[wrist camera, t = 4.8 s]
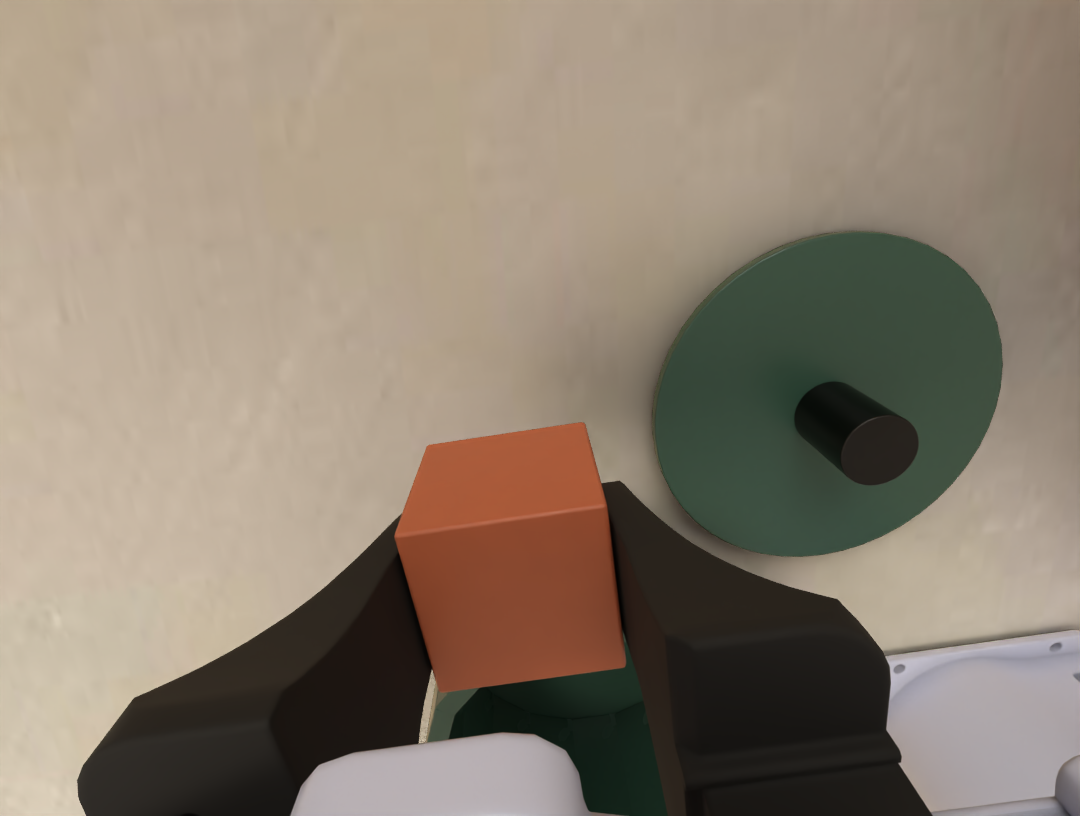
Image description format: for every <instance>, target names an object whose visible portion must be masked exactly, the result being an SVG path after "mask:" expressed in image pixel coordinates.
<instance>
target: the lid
mask: <svg viewBox="0 0 1080 816" xmlns="http://www.w3.org/2000/svg"><path fill="white" fill-rule="evenodd" d="M1002 367H1003V362H1002V344H1001V339H1000V335H999V330H998V325H997V322H996V320H995V317H994V314H993V312H992V309H991V307H990V304H989V303H988V301H987V299H986V298H985V296H984V294H983V293H982V291H981V289H980V288H979V286H978V285H977V284H976V283H975V282H974V280H973V279H972V278H971V277H970V276H969V275H968V273H967V272H966V271H965V270H964V269H963V268H961V267H960V266H959V265H958V264H956V263H955V262H954V261H953V260H952V259H950V258H949V257H948V256H946V255H944V254H943V253H941V252H939V251H937V250H936V249H934V248H932V247H930V246H928V245H926V244H923V243H920V242H917V241H915V240H912V239H909V238H906V237H901V236H896V235H891V234H886V233H880V232H864V231H846V232H834V233H826V234H821V235H817V236H812V237H808V238H804V239H800V240H798V241H795V242H792V243H789V244H786V245H784V246H781V247H778V248H776V249H774V250H772V251H770V252H768V253H766V254H764V255H762V256H760V257H758V258H756V259H754V260H753V261H751V262H750V263H748V264H747V265H745V266H744V267H742V268H741V269H739V270H738V271H736V272H735V273H733V274H732V275H731V276H730V277H728V278H727V279H726V280H725V281H724V282H723V283H721V284H720V285H719V286H718V287H717V288H715V289H714V290H713V291H712V292H711V293H710V294H709V295H708V296H707V298H706V299H705V300H704V301H703V302H702V303H701V304H700V305H699V306H698V307H697V308H696V309H695V311H694V312H693V313H692V315H691V316H690V318H689V319H688V320H687V322H686V323H685V324H684V326H683V327H682V328H681V330H680V332H679V334H678V335H677V337H676V339H675V341H674V342H673V344H672V346H671V348H670V350H669V352H668V354H667V357H666V359H665V362H664V364H663V367H662V369H661V372H660V375H659V379H658V383H657V387H656V390H655V396H654V404H653V412H652V432H653V440H654V446H655V452H656V456H657V459H658V462H659V465H660V469H661V472H662V474H663V476H664V478H665V480H666V482H667V484H668V486H669V488H670V490H671V492H672V494H673V495H674V496H675V498H676V499H677V501H678V502H679V504H680V505H681V506H682V508H683V509H684V510H685V511H686V512H687V513H688V514H689V515H690V516H691V517H692V518H693V519H694V520H695V521H696V522H697V523H698V524H699V525H701V526H702V527H703V528H705V529H706V530H707V531H708V532H710V533H712V534H713V535H715V536H717V537H719V538H720V539H722V540H724V541H726V542H728V543H730V544H733V545H735V546H738V547H740V548H743V549H746V550H750V551H754V552H757V553H761V554H768V555H775V556H792V557H803V556H814V555H823V554H828V553H833V552H838V551H843V550H846V549H849V548H852V547H856V546H859V545H862V544H865V543H867V542H869V541H872V540H874V539H876V538H879V537H881V536H883V535H885V534H887V533H889V532H891V531H893V530H894V529H896V528H898V527H900V526H902V525H903V524H905V523H906V522H908V521H909V520H911V519H912V518H914V517H915V516H917V515H918V514H920V513H921V512H922V511H923V510H924V509H926V508H927V507H928V506H929V505H930V504H932V503H933V502H934V501H935V500H937V499H938V498H939V497H940V496H941V495H942V494H943V493H944V492H945V491H946V490H947V489H948V488H949V487H950V486H951V485H952V484H953V482H954V481H955V480H956V479H957V477H958V476H959V475H960V474H961V472H962V471H963V470H964V469H965V468H966V466H967V465H968V463H969V462H970V460H971V459H972V457H973V456H974V454H975V452H976V451H977V449H978V448H979V446H980V444H981V442H982V440H983V438H984V436H985V434H986V432H987V430H988V428H989V425H990V423H991V420H992V417H993V414H994V412H995V409H996V405H997V401H998V396H999V392H1000V388H1001V378H1002Z"/></svg>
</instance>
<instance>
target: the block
mask: <svg viewBox="0 0 1080 816" xmlns="http://www.w3.org/2000/svg"><path fill="white" fill-rule="evenodd" d="M394 537H395V541H396V544H397V548H398V551H399V555H400V558H401V562H402V565H403V569H404V572H405V576H406V579H407V583H408V586H409V590H410V593H411V597H412V600H413V604H414V607H415V611H416V614H417V617H418V621H419V624H420V628H421V631H422V635H423V638H424V642H425V645H426V649H427V652H428V656H429V659H430V663H431V666H432V670H433V673H434V677H435V680H436V684H437V687H438V690H439V692H441V693H445V692H452V691H459V690H467V689H474V688H481V687H488V686H496V685H503V684H510V683H517V682H525V681H532V680H539V679H546V678H554V677H561V676H568V675H575V674H583V673H590V672H597V671H604V670H612V669H619V668H624V667H625V665H626V655H625V647H624V639H623V631H622V622H621V614H620V606H619V598H618V590H617V581H616V573H615V565H614V557H613V549H612V540H611V532H610V524H609V516H608V508H607V503H606V499H605V496H604V492H603V488H602V484H601V481H600V477H599V473H598V470H597V466H596V462H595V458H594V455H593V451H592V447H591V444H590V440H589V436H588V433H587V429H586V425H585V424H584V423H582V422H580V423H573V424H566V425H560V426H553V427H546V428H540V429H533V430H526V431H520V432H513V433H506V434H500V435H493V436H486V437H479V438H473V439H466V440H459V441H453V442H446V443H439V444H433V445H428V446H427V447H426V450H425V453H424V456H423V458H422V461H421V464H420V467H419V469H418V472H417V475H416V477H415V480H414V483H413V486H412V488H411V491H410V494H409V497H408V499H407V502H406V505H405V508H404V510H403V513H402V516H401V518H400V521H399V524H398V527H397V529H396V532H395V536H394Z"/></svg>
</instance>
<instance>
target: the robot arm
mask: <svg viewBox="0 0 1080 816" xmlns="http://www.w3.org/2000/svg"><path fill="white" fill-rule="evenodd" d="M601 484H602V488H603V492H604V496H605V499H606V503H607V508H608V516H609V524H610V532H611V540H612V549H613V557H614V565H615V573H616V581H617V590H618V598H619V606H620V614H621V622H622V630H623V633H624V636H625V639H626V642H627V645H628V648H629V651H630V654H631V658H632V661H633V664H634V667H635V670H636V673H637V677H638V680H639V684H640V688H641V691H642V696H643V701H644V705H645V710H646V714H647V719H648V723H649V728H650V733H651V737H652V742H653V747H654V751H655V756H656V761H657V765H658V770H659V775H660V779H661V784H662V789H663V794H664V799H665V804H666V808H667V813H668V816H1080V631H1079V630H1068V631H1061V632H1053V633H1046V634H1039V635H1032V636H1025V637H1018V638H1011V639H1003V640H996V641H989V642H982V643H975V644H968V645H961V646H953V647H946V648H939V649H932V650H925V651H918V652H911V653H903V654H896V655H889V656H885V655H884V653H883V651H882V650H881V648H880V647H879V646H878V645H877V643H876V642H875V641H874V639H873V638H872V637H871V636H870V634H869V633H868V632H867V631H866V629H865V628H864V627H863V626H862V625H861V624H860V623H859V621H858V620H857V619H856V618H855V617H854V616H853V615H852V614H851V613H850V612H849V611H848V610H847V609H846V608H845V607H844V606H843V605H842V604H841V603H840V601H839V600H837V599H834V598H830V597H826V596H822V595H818V594H814V593H810V592H806V591H803V590H799V589H795V588H791V587H788V586H785V585H782V584H779V583H776V582H773V581H771V580H768V579H765V578H762V577H760V576H757V575H754V574H752V573H749V572H747V571H745V570H742V569H740V568H738V567H736V566H734V565H732V564H729V563H727V562H725V561H723V560H721V559H719V558H717V557H715V556H713V555H712V554H710V553H708V552H706V551H705V550H703V549H701V548H700V547H698V546H696V545H694V544H693V543H691V542H690V541H688V540H687V539H685V538H684V537H682V536H681V535H680V534H678V533H677V532H676V531H674V530H673V529H672V528H670V527H669V526H668V525H667V524H665V523H664V522H663V521H662V520H661V519H660V518H658V517H657V516H656V515H655V514H654V513H653V512H651V511H650V510H649V509H648V508H647V507H646V506H645V505H644V504H643V503H642V502H641V501H640V500H639V499H638V498H637V497H636V496H635V495H634V494H633V493H632V492H631V491H630V490H629V489H628V488H627V487H626V486H625V485H624V484H623V483H622V482H620V481H615V482H608V483H601ZM401 516H402V514H401V515H400V516H399V517H398V518H397V519H396V520H395V521H394V522H392V524H391V525H390V526H389V527H388V528H387V529H386V530H385V531H384V532H383V533H382V534H381V535H380V536H379V537H378V538H377V539H376V540H375V541H374V542H373V543H372V544H371V545H370V546H369V547H368V548H367V549H366V550H365V551H364V552H363V553H362V554H361V555H360V556H359V557H358V558H357V559H356V560H355V561H353V562H352V563H351V564H350V565H349V566H348V567H347V568H346V569H345V570H344V571H342V572H341V573H340V574H339V575H338V576H337V577H336V578H335V579H334V580H332V581H331V582H330V583H329V584H328V585H327V586H326V587H324V588H323V589H322V590H321V591H320V592H318V593H317V594H316V595H315V596H313V597H312V598H311V599H310V600H308V601H307V602H306V603H304V604H303V605H302V606H300V607H299V608H298V609H296V610H295V611H294V612H292V613H291V614H289V615H288V616H287V617H285V618H284V619H282V620H280V621H279V622H277V623H276V624H274V625H273V626H271V627H270V628H268V629H267V630H265V631H263V632H262V633H260V634H259V635H257V636H256V637H254V638H253V639H251V640H250V641H248V642H246V643H244V644H243V645H241V646H239V647H237V648H236V649H234V650H232V651H230V652H229V653H227V654H225V655H223V656H221V657H220V658H218V659H216V660H214V661H212V662H210V663H208V664H206V665H204V666H203V667H201V668H199V669H197V670H195V671H193V672H191V673H188V674H186V675H184V676H182V677H180V678H178V679H175V680H173V681H171V682H169V683H167V684H164V685H162V686H160V687H158V688H156V689H154V690H151V691H149V692H147V693H145V694H142V695H140V696H138V697H135V698H134V699H133V700H132V701H131V703H130V704H129V705H128V707H127V708H126V709H125V711H124V712H123V713H122V715H121V716H120V717H119V719H118V720H117V721H116V723H115V724H114V725H113V727H112V728H111V729H110V731H109V732H108V733H107V734H106V736H105V737H104V738H103V740H102V741H101V742H100V744H99V745H98V746H97V748H96V749H95V750H94V752H93V753H92V754H91V756H90V757H89V758H88V760H87V761H86V762H85V764H84V765H83V767H82V770H81V772H80V775H79V777H78V780H77V783H78V797H79V800H80V803H81V805H82V807H83V809H84V812H85V814H86V816H623V815H614V814H605V813H595V812H589V810H588V809H587V806H586V804H585V801H584V799H583V793H582V787H581V782H580V776H579V772H578V770H577V769H576V767H575V765H574V764H573V762H572V760H571V759H570V757H569V755H568V754H567V752H566V750H564V749H562V748H560V747H558V746H556V745H554V744H552V743H550V742H548V741H547V740H545V739H543V738H541V737H539V736H537V735H535V734H521V733H503V732H502V733H494V734H487V735H480V736H472V737H465V738H457V739H450V740H443V741H435V742H428V743H421V744H418V742H419V733H420V725H421V718H422V712H423V706H424V701H425V696H426V692H427V688H428V683H429V679H430V674H431V670H432V666H431V663H430V659H429V656H428V652H427V649H426V645H425V642H424V638H423V635H422V631H421V628H420V624H419V621H418V617H417V614H416V611H415V607H414V604H413V600H412V597H411V593H410V590H409V586H408V583H407V579H406V576H405V572H404V569H403V565H402V562H401V558H400V555H399V551H398V548H397V544H396V541H395V537H394V536H395V532H396V529H397V527H398V524H399V521H400V518H401Z"/></svg>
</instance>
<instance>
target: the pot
mask: <svg viewBox="0 0 1080 816" xmlns="http://www.w3.org/2000/svg"><path fill="white" fill-rule="evenodd" d="M622 631H623V630H622ZM623 639H624V647H625V655H626V665H625V667H624V668H619V669H612V670H604V671H597V672H590V673H583V674H575V675H568V676H561V677H554V678H546V679H539V680H532V681H525V682H517V683H510V684H503V685H496V686H488V687H481V688H474V689H467V690H459V691H452V692H445V693H441V692H439V690H438V687H437V684H436V683H435V689H434V695H433V701H432V706H431V712H430V718H429V724H428V730H427V736H426V742H425V743H428V742H435V741H443V740H450V739H457V738H465V737H472V736H480V735H487V734H494V733H502V732H503V733H521V734H535V735H537V736H539V737H541V738H543V739H545V740H547V741H548V742H550V743H552V744H554V745H556V746H558V747H560V748H562V749H564V750H566V752H567V754H568V755H569V757H570V759H571V760H572V762H573V764H574V765H575V767H576V769H577V770H578V772H579V776H580V782H581V787H582V793H583V799H584V801H585V804H586V806H587V809H588V810H589V812H595V813H605V814H614V815H623V816H668V813H667V808H666V804H665V799H664V794H663V789H662V784H661V779H660V775H659V770H658V765H657V761H656V756H655V751H654V747H653V742H652V737H651V733H650V728H649V723H648V719H647V714H646V710H645V705H644V701H643V696H642V691H641V688H640V684H639V680H638V677H637V673H636V670H635V667H634V664H633V661H632V658H631V654H630V651H629V648H628V645H627V642H626V639H625V636H624V633H623Z"/></svg>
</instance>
